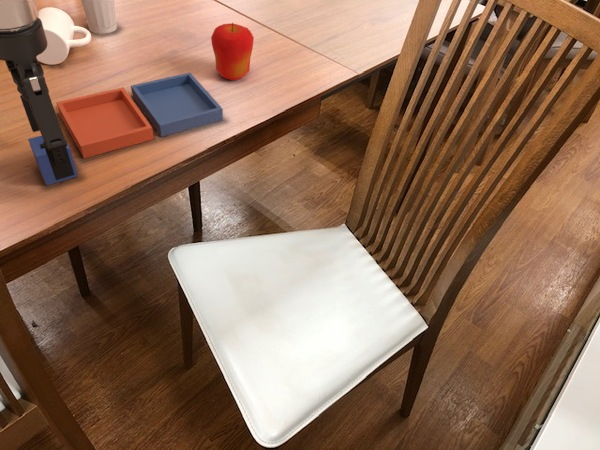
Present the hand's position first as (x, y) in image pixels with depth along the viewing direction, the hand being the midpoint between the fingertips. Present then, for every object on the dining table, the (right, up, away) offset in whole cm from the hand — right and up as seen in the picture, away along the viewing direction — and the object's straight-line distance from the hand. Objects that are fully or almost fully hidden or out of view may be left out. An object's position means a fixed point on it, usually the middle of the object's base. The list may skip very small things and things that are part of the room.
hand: (52, 151), depth 81 cm
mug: (-11, +25, +29) cm, 40 cm away
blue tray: (+15, +11, +19) cm, 27 cm away
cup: (-7, +35, +39) cm, 53 cm away
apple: (+25, +21, +30) cm, 44 cm away
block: (-1, -3, +3) cm, 5 cm away
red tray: (+4, +7, +13) cm, 15 cm away
